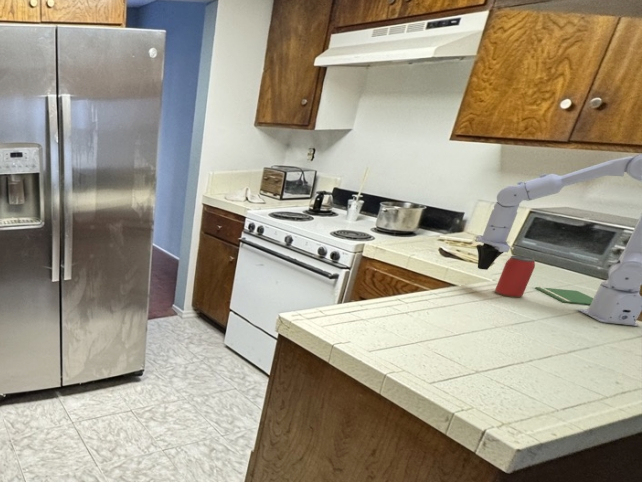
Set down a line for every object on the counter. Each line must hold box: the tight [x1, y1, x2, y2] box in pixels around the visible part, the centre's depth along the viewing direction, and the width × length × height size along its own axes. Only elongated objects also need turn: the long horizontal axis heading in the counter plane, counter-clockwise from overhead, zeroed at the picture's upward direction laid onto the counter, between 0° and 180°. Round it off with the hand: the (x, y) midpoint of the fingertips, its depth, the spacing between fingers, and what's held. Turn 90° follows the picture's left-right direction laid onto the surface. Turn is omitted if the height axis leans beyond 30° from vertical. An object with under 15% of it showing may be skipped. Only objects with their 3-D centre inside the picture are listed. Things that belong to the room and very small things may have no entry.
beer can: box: [494, 255, 536, 298], centre depth 146 cm, size 7×7×12 cm
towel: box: [535, 286, 594, 306], centre depth 147 cm, size 14×11×1 cm
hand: (482, 268), depth 148 cm, fingers closed
